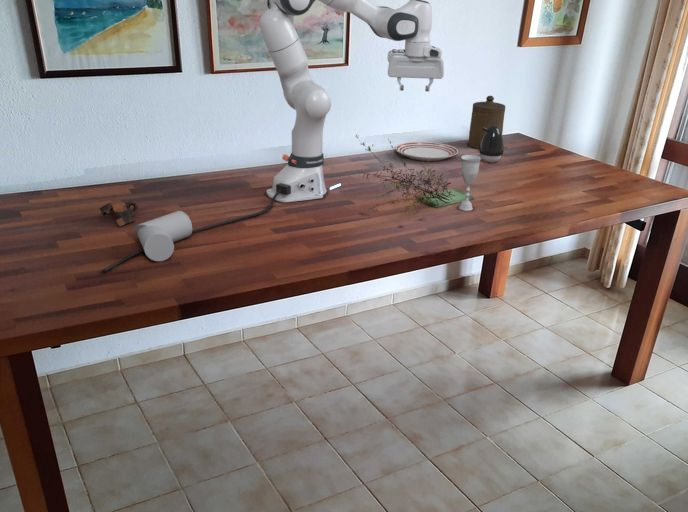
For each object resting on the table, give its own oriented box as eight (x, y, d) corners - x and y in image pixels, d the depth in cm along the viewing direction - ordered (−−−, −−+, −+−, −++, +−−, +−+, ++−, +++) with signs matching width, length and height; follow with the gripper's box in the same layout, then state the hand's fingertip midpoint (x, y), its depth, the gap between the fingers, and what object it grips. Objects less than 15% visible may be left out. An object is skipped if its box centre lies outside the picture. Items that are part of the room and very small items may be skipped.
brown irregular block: (111, 230, 223) (98, 207, 221) (108, 233, 231) (95, 211, 229) (145, 214, 227) (133, 191, 225) (141, 218, 236) (129, 196, 234)
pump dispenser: (475, 157, 304) (479, 122, 297) (498, 157, 306) (502, 122, 298) (481, 164, 296) (485, 128, 288) (504, 164, 297) (509, 128, 289)
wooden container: (491, 140, 331) (497, 92, 319) (506, 148, 319) (513, 98, 307) (462, 142, 326) (467, 93, 315) (477, 150, 314) (483, 100, 303)
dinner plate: (397, 145, 318) (398, 138, 316) (457, 149, 315) (458, 142, 314) (392, 162, 295) (392, 154, 293) (457, 167, 292) (458, 159, 290)
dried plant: (450, 150, 248) (346, 103, 223) (497, 183, 225) (386, 135, 200) (410, 225, 260) (307, 188, 235) (450, 264, 237) (341, 228, 212)
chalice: (469, 213, 244) (475, 161, 235) (452, 208, 248) (457, 158, 238) (479, 207, 249) (485, 157, 240) (462, 203, 253) (467, 153, 243)
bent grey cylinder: (127, 235, 215) (137, 260, 200) (130, 202, 211) (141, 225, 195) (185, 239, 223) (199, 264, 208) (189, 208, 219) (204, 230, 203)
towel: (435, 207, 248) (435, 204, 248) (417, 199, 255) (417, 196, 255) (472, 199, 257) (472, 195, 257) (454, 191, 264) (454, 188, 264)
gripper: (387, 50, 245) (385, 91, 253) (446, 52, 245) (442, 93, 252) (387, 47, 251) (385, 88, 258) (444, 49, 250) (441, 90, 258)
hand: (414, 90), depth 255 cm, fingers open, 8 cm apart
